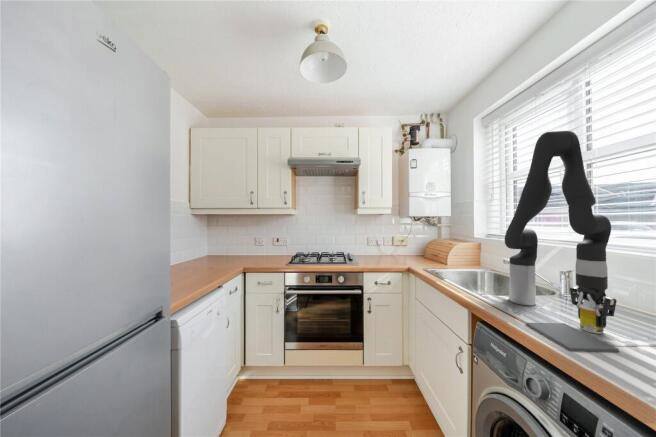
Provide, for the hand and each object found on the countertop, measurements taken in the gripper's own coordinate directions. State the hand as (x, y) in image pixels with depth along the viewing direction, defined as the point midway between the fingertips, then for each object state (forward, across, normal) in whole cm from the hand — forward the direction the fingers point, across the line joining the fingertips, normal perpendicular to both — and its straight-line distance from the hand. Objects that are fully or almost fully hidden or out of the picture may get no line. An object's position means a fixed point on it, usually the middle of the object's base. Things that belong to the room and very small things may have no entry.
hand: (591, 323), depth 86 cm
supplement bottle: (+3, 0, 0) cm, 3 cm away
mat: (+2, +5, -12) cm, 13 cm away
